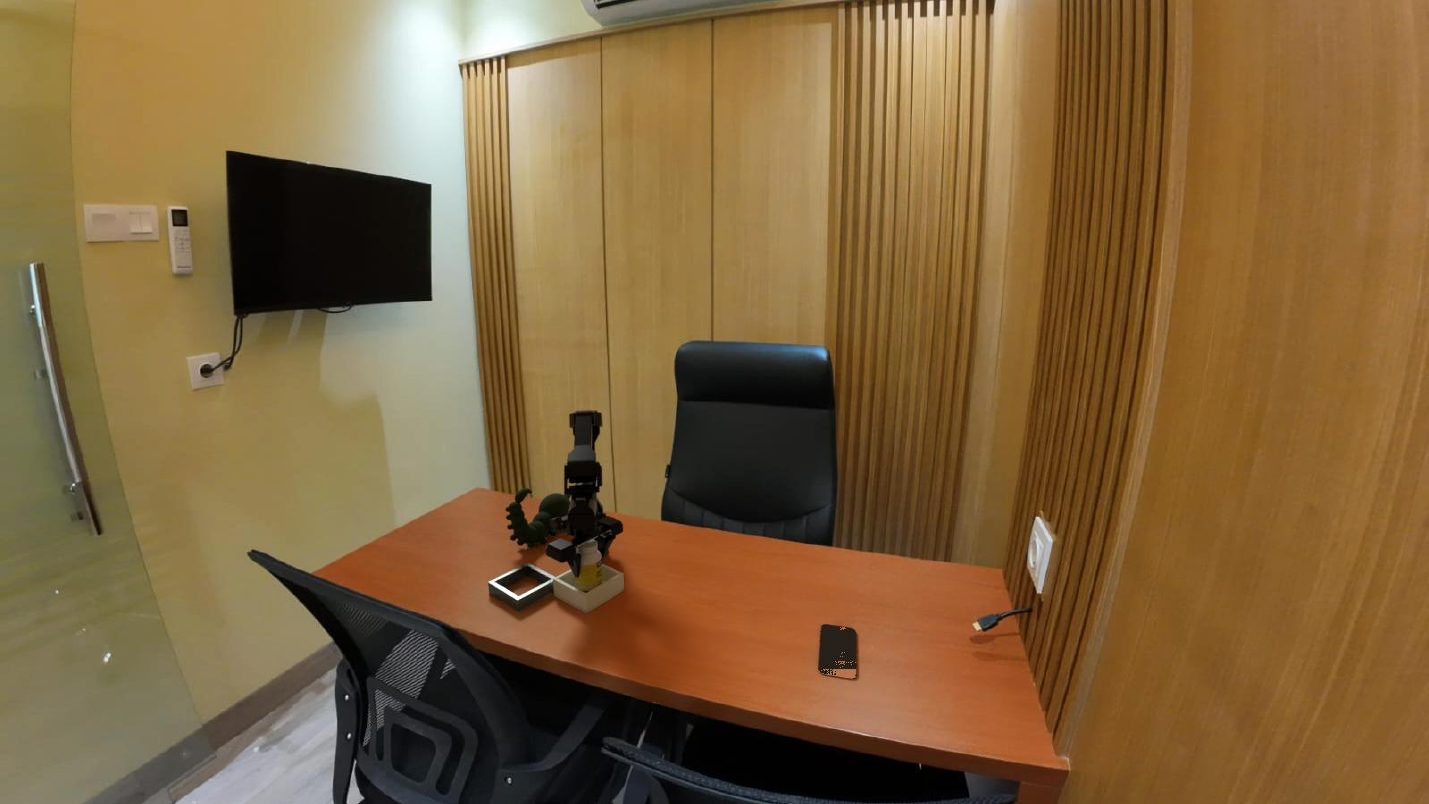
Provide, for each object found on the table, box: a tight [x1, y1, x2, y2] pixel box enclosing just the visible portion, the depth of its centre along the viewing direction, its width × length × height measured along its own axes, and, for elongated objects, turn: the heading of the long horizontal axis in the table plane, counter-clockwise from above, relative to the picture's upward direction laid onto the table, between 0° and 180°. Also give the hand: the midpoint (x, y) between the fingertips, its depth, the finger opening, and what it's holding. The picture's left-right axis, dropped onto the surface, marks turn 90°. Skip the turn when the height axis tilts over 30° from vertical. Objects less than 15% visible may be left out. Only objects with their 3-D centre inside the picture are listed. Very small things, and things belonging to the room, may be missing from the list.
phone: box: [817, 623, 858, 675], centre depth 109 cm, size 7×1×15 cm
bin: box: [553, 563, 625, 615], centre depth 128 cm, size 12×12×4 cm
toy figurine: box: [505, 487, 571, 549], centre depth 153 cm, size 9×19×25 cm
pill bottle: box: [574, 539, 603, 593], centre depth 126 cm, size 6×6×12 cm
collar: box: [487, 562, 556, 612], centre depth 128 cm, size 11×12×3 cm
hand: (588, 570), depth 127 cm, fingers closed on pill bottle, 6 cm apart
